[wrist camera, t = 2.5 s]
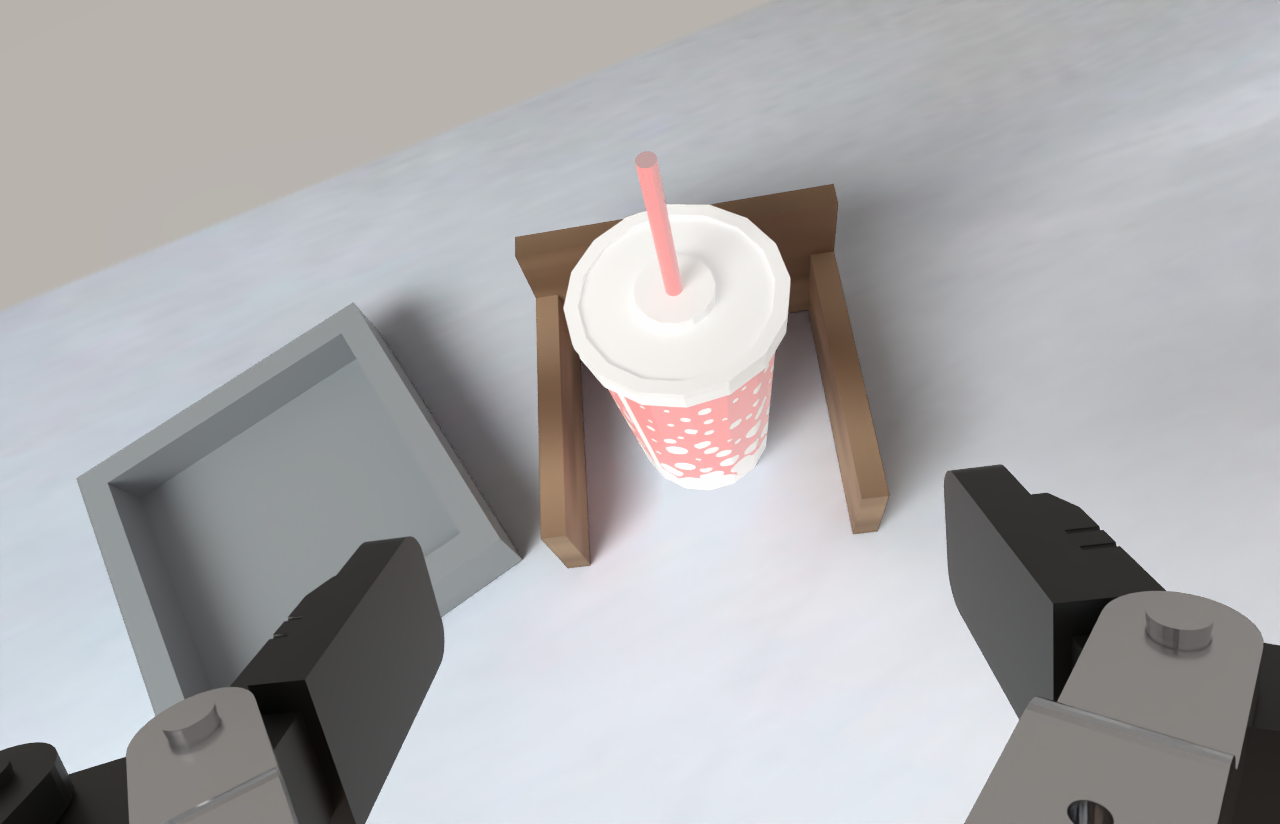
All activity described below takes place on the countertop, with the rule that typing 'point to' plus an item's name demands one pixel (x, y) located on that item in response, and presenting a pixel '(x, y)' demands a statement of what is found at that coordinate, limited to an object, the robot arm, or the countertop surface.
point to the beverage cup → (684, 331)
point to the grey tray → (280, 504)
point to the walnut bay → (815, 286)
